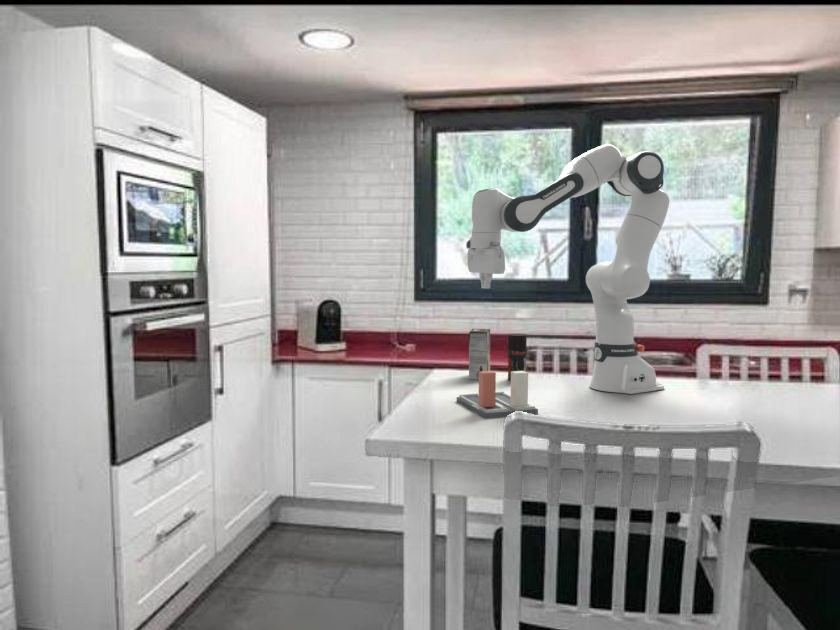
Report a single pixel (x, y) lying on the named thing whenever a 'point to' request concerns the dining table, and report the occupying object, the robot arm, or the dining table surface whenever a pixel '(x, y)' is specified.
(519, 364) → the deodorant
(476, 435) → the dining table surface
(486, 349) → the coffee box
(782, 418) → the dining table surface
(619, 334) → the robot arm
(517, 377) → the block
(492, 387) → the block
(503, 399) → the slotted fader panel
